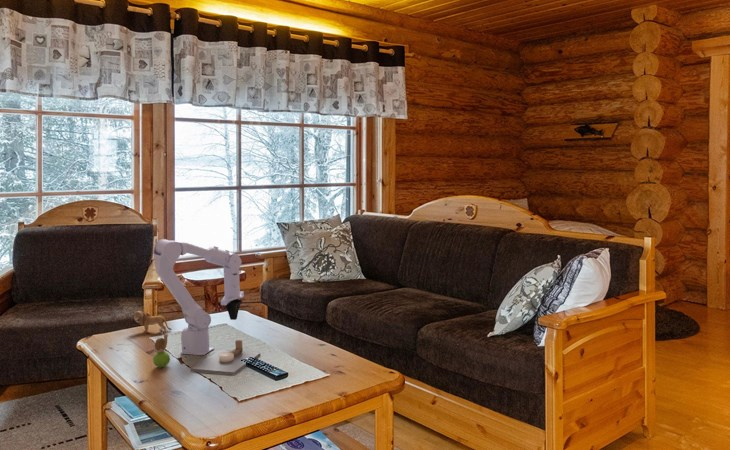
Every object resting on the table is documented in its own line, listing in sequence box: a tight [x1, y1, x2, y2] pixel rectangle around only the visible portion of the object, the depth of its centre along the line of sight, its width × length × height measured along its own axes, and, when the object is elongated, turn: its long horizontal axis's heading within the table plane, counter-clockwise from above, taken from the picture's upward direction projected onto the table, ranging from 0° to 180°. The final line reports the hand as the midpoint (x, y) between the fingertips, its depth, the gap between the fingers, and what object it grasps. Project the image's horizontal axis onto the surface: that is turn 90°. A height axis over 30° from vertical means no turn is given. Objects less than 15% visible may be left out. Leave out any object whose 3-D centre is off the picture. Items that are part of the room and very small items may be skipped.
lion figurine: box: [133, 310, 172, 334], centre depth 254 cm, size 15×5×9 cm, turn 95°
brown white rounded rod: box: [219, 339, 244, 362], centre depth 217 cm, size 12×5×4 cm, turn 159°
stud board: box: [190, 349, 261, 376], centre depth 214 cm, size 18×20×1 cm
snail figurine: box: [152, 329, 171, 368], centre depth 211 cm, size 5×6×12 cm
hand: (233, 319), depth 235 cm, fingers closed
